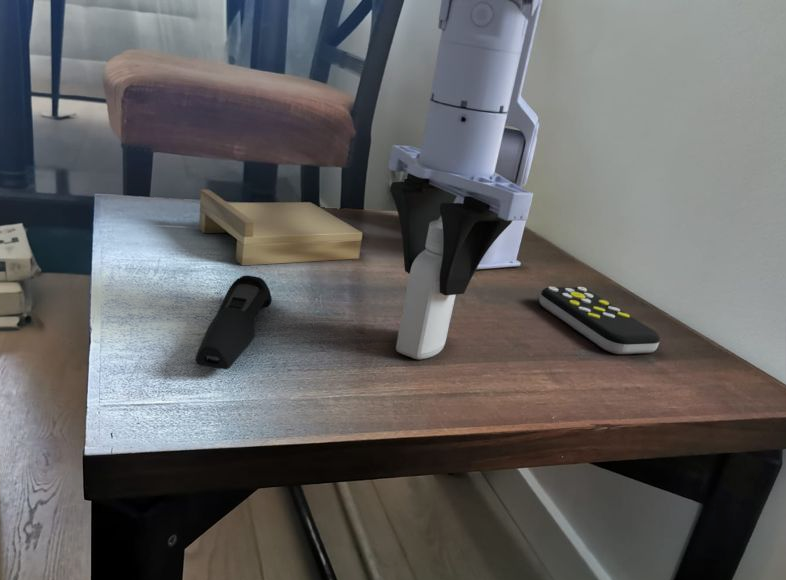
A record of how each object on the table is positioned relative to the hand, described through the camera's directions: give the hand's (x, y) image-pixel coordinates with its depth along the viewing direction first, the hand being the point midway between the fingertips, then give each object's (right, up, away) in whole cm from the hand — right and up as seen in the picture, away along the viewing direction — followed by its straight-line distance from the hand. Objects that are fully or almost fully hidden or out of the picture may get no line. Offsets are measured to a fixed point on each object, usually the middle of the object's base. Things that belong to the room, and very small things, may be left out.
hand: (433, 281), depth 56 cm
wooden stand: (-15, +6, +22) cm, 28 cm away
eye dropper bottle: (-1, -5, +3) cm, 6 cm away
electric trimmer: (-16, -5, -1) cm, 16 cm away
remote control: (+17, -3, +13) cm, 22 cm away
